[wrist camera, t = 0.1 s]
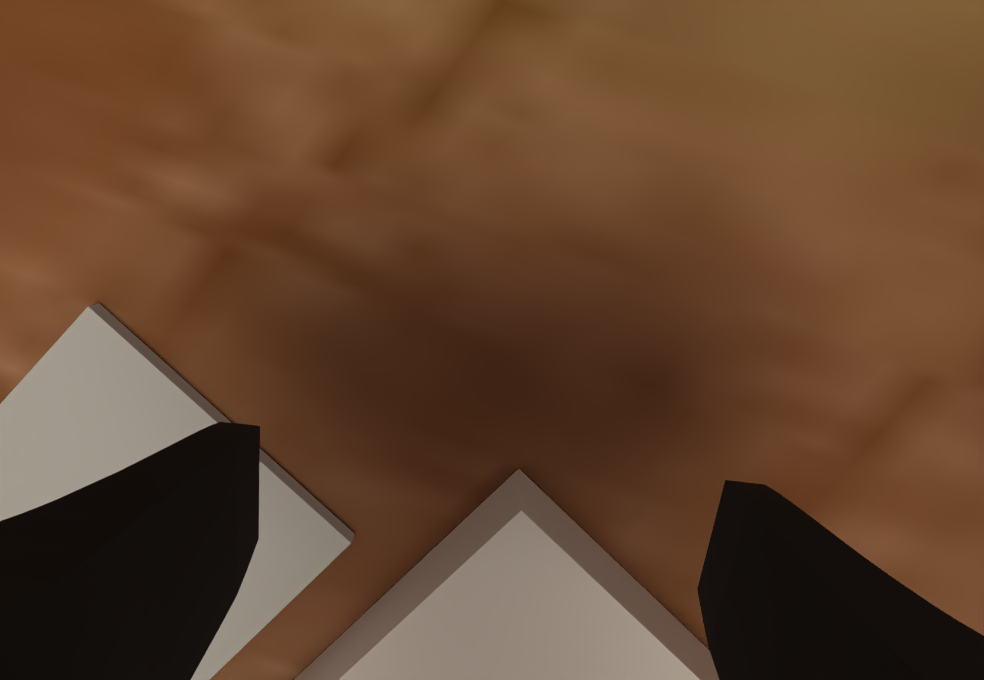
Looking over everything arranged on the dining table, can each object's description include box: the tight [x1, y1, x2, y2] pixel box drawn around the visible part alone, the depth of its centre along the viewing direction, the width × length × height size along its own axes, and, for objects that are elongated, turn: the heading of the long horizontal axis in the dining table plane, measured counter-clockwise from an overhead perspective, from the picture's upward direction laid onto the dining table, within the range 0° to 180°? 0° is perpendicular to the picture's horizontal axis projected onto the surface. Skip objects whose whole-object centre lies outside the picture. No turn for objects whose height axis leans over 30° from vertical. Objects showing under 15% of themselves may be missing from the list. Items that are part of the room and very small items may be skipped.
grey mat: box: [0, 303, 355, 680], centre depth 23 cm, size 10×10×1 cm
